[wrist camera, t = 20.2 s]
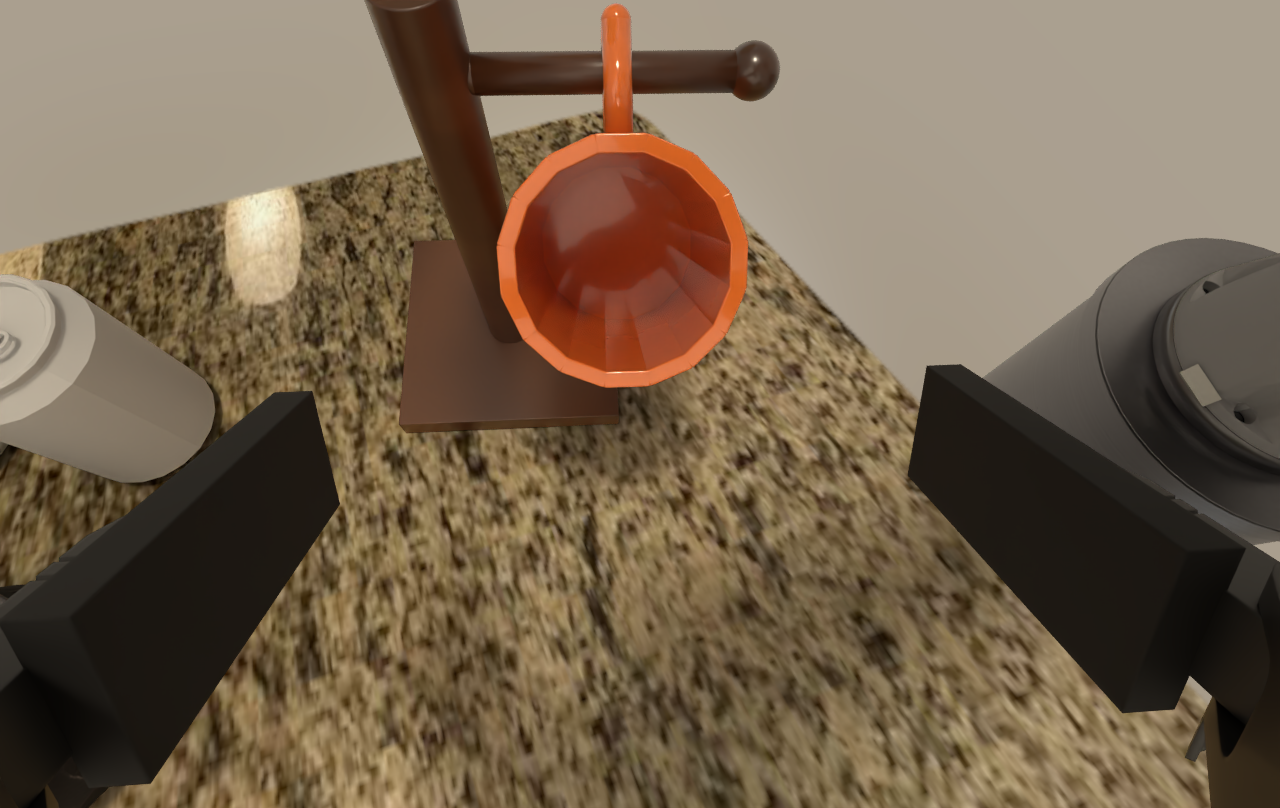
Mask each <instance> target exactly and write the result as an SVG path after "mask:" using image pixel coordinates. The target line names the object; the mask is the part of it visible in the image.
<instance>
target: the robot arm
mask: <svg viewBox="0 0 1280 808" xmlns="http://www.w3.org/2000/svg"><path fill="white" fill-rule="evenodd" d="M1153 353H1154V359H1155V363H1156V367H1157V371H1158V373H1159V376H1160V379H1161V381H1162V383H1163V385H1164V387H1165V389H1166V391H1167V393H1168V395H1169V396H1170V398H1171V400H1172V401H1173V403H1174V404H1175V405H1176V407H1177V408H1178V410H1179V411H1180V412H1181V413H1182V415H1183V416H1184V417H1185V418H1186V419H1187V420H1188V422H1189V423H1190V424H1191V425H1192V426H1193V427H1194V428H1195V429H1196V430H1197V431H1198V432H1199V433H1201V434H1202V435H1203V436H1204V437H1205V438H1206V439H1208V440H1209V441H1210V442H1211V443H1212V444H1214V445H1215V446H1217V447H1218V448H1220V449H1221V450H1222V451H1224V452H1226V453H1227V454H1229V455H1230V456H1232V457H1234V458H1236V459H1238V460H1240V461H1242V462H1243V463H1246V464H1248V465H1250V466H1253V467H1255V468H1257V469H1260V470H1263V471H1266V472H1269V473H1273V474H1277V475H1280V253H1279V254H1276V255H1272V256H1269V257H1265V258H1261V259H1258V260H1254V261H1251V262H1247V263H1244V264H1240V265H1237V266H1233V267H1229V268H1226V269H1222V270H1220V271H1216V272H1213V273H1210V274H1208V275H1206V276H1204V277H1202V278H1200V279H1199V280H1197V281H1195V282H1194V283H1192V284H1191V285H1189V286H1188V287H1186V288H1184V289H1183V290H1181V291H1180V292H1178V293H1177V294H1175V295H1174V296H1173V297H1172V298H1171V299H1170V300H1169V301H1168V302H1167V303H1166V304H1165V305H1164V307H1163V308H1162V310H1161V312H1160V314H1159V315H1158V318H1157V320H1156V323H1155V327H1154V332H1153ZM908 476H909V477H910V479H911V480H912V481H913V482H914V483H915V484H916V485H917V486H918V487H919V489H920V490H921V491H922V492H923V493H924V494H925V495H926V496H927V497H928V498H929V500H930V501H931V502H932V503H933V504H934V505H935V506H936V507H937V508H938V510H939V511H940V512H941V513H942V514H943V515H944V516H945V517H946V518H947V520H948V521H949V522H950V523H951V524H952V525H953V526H954V527H955V528H956V529H957V531H958V532H959V533H960V534H961V535H962V536H963V537H964V538H965V539H966V541H967V542H968V543H969V544H970V545H971V546H972V547H973V548H974V549H975V550H976V552H977V553H978V554H979V555H980V556H981V557H982V558H983V559H984V560H985V562H986V563H987V564H988V565H989V566H990V567H991V568H992V569H993V570H994V572H995V573H996V574H997V575H998V576H999V577H1000V578H1001V579H1002V580H1003V581H1004V583H1005V584H1006V585H1007V586H1008V587H1009V588H1010V589H1011V590H1012V591H1013V593H1014V594H1015V595H1016V596H1017V597H1018V598H1019V599H1020V600H1021V601H1022V603H1023V604H1024V605H1025V606H1026V607H1027V608H1028V609H1029V610H1030V611H1031V612H1032V614H1033V615H1034V616H1035V617H1036V618H1037V619H1038V620H1039V621H1040V622H1041V624H1042V625H1043V626H1044V627H1045V628H1046V629H1047V630H1048V631H1049V632H1050V633H1051V635H1052V636H1053V637H1054V638H1055V639H1056V640H1057V641H1058V642H1059V643H1060V645H1061V646H1062V647H1063V648H1064V649H1065V650H1066V651H1067V652H1068V653H1069V655H1070V656H1071V657H1072V658H1073V659H1074V660H1075V661H1076V662H1077V663H1078V664H1079V666H1080V667H1081V668H1082V669H1083V670H1084V671H1085V672H1086V673H1087V674H1088V676H1089V677H1090V678H1091V679H1092V680H1093V681H1094V682H1095V683H1096V684H1097V685H1098V687H1099V688H1100V689H1101V690H1102V691H1103V692H1104V693H1105V694H1106V695H1107V697H1108V698H1109V699H1110V700H1111V701H1112V702H1113V703H1114V704H1115V705H1116V707H1117V708H1118V709H1119V710H1120V711H1121V712H1122V713H1131V712H1145V711H1159V710H1173V709H1175V707H1176V705H1177V703H1178V700H1179V698H1180V696H1181V694H1182V691H1183V689H1184V687H1185V685H1186V682H1187V680H1188V678H1189V676H1191V677H1192V678H1193V679H1194V680H1195V681H1196V682H1197V683H1198V684H1200V685H1201V686H1202V687H1203V688H1204V689H1205V690H1206V691H1207V692H1208V693H1209V694H1210V695H1212V699H1211V700H1210V703H1209V705H1208V707H1207V709H1206V711H1205V713H1204V715H1203V717H1202V719H1201V722H1200V724H1199V726H1198V728H1197V730H1196V732H1195V734H1194V736H1193V738H1192V741H1191V743H1190V745H1189V747H1188V750H1187V753H1186V756H1185V758H1187V759H1190V760H1192V761H1194V762H1195V761H1196V759H1197V757H1198V755H1199V753H1200V752H1201V751H1205V750H1206V755H1207V767H1208V779H1209V790H1210V802H1211V808H1280V562H1279V561H1277V560H1276V559H1274V558H1272V557H1271V556H1269V555H1268V554H1266V553H1264V552H1263V551H1261V550H1260V549H1258V548H1257V547H1255V546H1253V545H1252V544H1250V543H1249V542H1247V541H1245V540H1244V539H1242V538H1241V537H1239V536H1238V535H1236V534H1234V533H1233V532H1231V531H1230V530H1228V529H1227V528H1225V527H1223V526H1222V525H1220V524H1219V523H1217V522H1215V521H1214V520H1212V519H1211V518H1209V517H1208V516H1206V515H1204V514H1198V510H1196V509H1195V508H1193V507H1192V506H1190V505H1189V504H1187V503H1185V502H1184V501H1182V500H1181V499H1175V496H1174V495H1173V494H1171V493H1170V492H1168V491H1166V490H1165V489H1163V488H1162V487H1160V486H1159V485H1157V484H1155V483H1154V482H1152V481H1151V480H1149V479H1147V478H1145V477H1143V476H1140V475H1138V474H1135V473H1133V472H1130V471H1128V470H1126V469H1123V468H1121V467H1119V466H1118V465H1116V464H1115V463H1113V462H1112V461H1110V460H1108V459H1107V458H1105V457H1104V456H1102V455H1101V454H1099V453H1098V452H1096V451H1094V450H1093V449H1091V448H1090V447H1088V446H1087V445H1085V444H1084V443H1082V442H1080V441H1079V440H1077V439H1076V438H1074V437H1073V436H1071V435H1070V434H1068V433H1066V432H1065V431H1063V430H1062V429H1060V428H1059V427H1057V426H1056V425H1054V424H1053V423H1051V422H1049V421H1048V420H1046V419H1045V418H1043V417H1042V416H1040V415H1039V414H1037V413H1035V412H1034V411H1032V410H1031V409H1029V408H1028V407H1026V406H1025V405H1023V404H1021V403H1020V402H1018V401H1017V400H1015V399H1014V398H1012V397H1011V396H1009V395H1007V394H1006V393H1004V392H1003V391H1001V390H1000V389H998V388H997V387H995V386H993V385H992V384H990V383H989V382H987V381H986V380H984V379H983V378H981V377H979V376H978V375H976V374H975V373H973V372H972V371H970V370H969V369H967V368H965V367H964V366H962V365H961V364H959V365H935V366H927V368H926V373H925V379H924V385H923V391H922V397H921V402H920V408H919V413H918V419H917V425H916V431H915V436H914V442H913V448H912V453H911V459H910V465H909V471H908ZM339 505H340V502H339V498H338V494H337V490H336V486H335V482H334V478H333V474H332V470H331V466H330V462H329V457H328V453H327V449H326V445H325V441H324V437H323V433H322V429H321V425H320V421H319V417H318V413H317V408H316V404H315V400H314V396H313V392H312V391H301V392H276V393H273V394H272V395H271V396H270V397H268V398H267V399H266V400H265V401H264V402H262V403H261V404H260V405H259V406H257V407H256V408H255V409H254V410H253V411H251V412H250V413H249V414H248V415H247V416H245V417H244V418H243V419H242V420H240V421H239V422H238V423H237V424H236V425H234V426H233V427H232V428H231V429H230V430H228V431H227V432H226V433H225V434H224V435H222V436H221V437H220V438H219V439H217V440H216V441H215V442H214V443H213V444H211V445H210V446H209V447H208V448H207V449H205V450H204V451H203V452H202V453H201V454H199V455H198V456H197V457H196V458H194V459H193V460H192V461H191V462H190V463H188V464H187V465H186V466H185V467H184V468H182V469H181V470H180V471H179V472H178V473H176V474H175V475H174V476H173V477H171V478H170V479H169V480H168V481H167V482H165V483H164V484H163V485H162V486H161V487H159V488H158V489H157V490H156V491H154V492H153V493H152V494H151V495H150V496H148V497H147V498H146V499H145V500H144V501H142V502H141V503H140V504H139V505H138V506H136V507H135V508H134V509H133V510H131V511H130V512H129V513H128V514H127V515H125V516H123V517H121V518H119V519H117V520H115V521H114V522H112V523H110V524H108V525H106V526H104V527H102V528H100V529H98V530H97V531H95V532H93V533H91V534H89V535H87V536H86V537H84V538H83V539H82V540H81V541H79V542H78V543H77V544H76V545H74V546H73V547H72V548H71V549H69V550H68V551H67V552H66V553H65V554H63V555H62V556H61V557H60V558H59V562H53V563H52V564H51V565H50V566H48V567H47V568H46V569H45V570H43V571H42V572H41V573H40V574H38V575H37V576H36V580H35V581H30V582H28V583H27V584H26V585H25V586H23V587H22V588H21V589H20V590H18V591H17V592H16V593H15V594H13V595H12V596H11V597H10V598H8V599H7V600H6V601H5V602H3V603H2V604H1V605H0V808H59V804H58V802H57V800H56V798H55V797H54V795H53V793H52V792H51V790H50V788H49V786H48V785H47V784H48V783H49V782H50V781H51V779H52V778H53V777H54V776H55V775H56V773H57V772H58V771H59V770H60V769H61V767H62V766H63V765H64V764H65V763H66V761H67V760H68V759H69V758H70V757H72V759H73V760H74V762H75V764H76V766H77V768H78V769H79V771H80V773H81V775H82V777H83V779H84V780H85V782H86V784H87V786H88V788H97V787H111V786H125V785H138V784H151V782H152V781H153V779H154V778H155V776H156V775H157V773H158V772H159V771H160V769H161V768H162V766H163V765H164V763H165V762H166V760H167V759H168V757H169V756H170V754H171V753H172V751H173V750H174V748H175V747H176V745H177V744H178V742H179V741H180V740H181V738H182V737H183V735H184V734H185V732H186V731H187V729H188V728H189V726H190V725H191V723H192V722H193V720H194V719H195V717H196V716H197V714H198V713H199V711H200V710H201V708H202V707H203V706H204V704H205V703H206V701H207V700H208V698H209V697H210V695H211V694H212V692H213V691H214V689H215V688H216V686H217V685H218V683H219V682H220V680H221V679H222V677H223V676H224V675H225V673H226V672H227V670H228V669H229V667H230V666H231V664H232V663H233V661H234V660H235V658H236V657H237V655H238V654H239V652H240V651H241V649H242V648H243V646H244V645H245V644H246V642H247V641H248V639H249V638H250V636H251V635H252V633H253V632H254V630H255V629H256V627H257V626H258V624H259V623H260V621H261V620H262V618H263V617H264V615H265V614H266V612H267V611H268V610H269V608H270V607H271V605H272V604H273V602H274V601H275V599H276V598H277V596H278V595H279V593H280V592H281V590H282V589H283V587H284V586H285V584H286V583H287V581H288V580H289V579H290V577H291V576H292V574H293V573H294V571H295V570H296V568H297V567H298V565H299V564H300V562H301V561H302V559H303V558H304V556H305V555H306V553H307V552H308V550H309V549H310V548H311V546H312V545H313V543H314V542H315V540H316V539H317V537H318V536H319V534H320V533H321V531H322V530H323V528H324V527H325V525H326V524H327V522H328V521H329V519H330V518H331V517H332V515H333V514H334V512H335V511H336V509H337V508H338V506H339Z"/></svg>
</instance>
